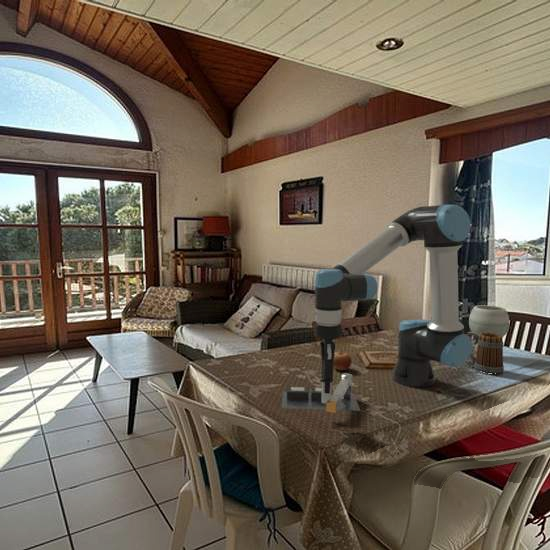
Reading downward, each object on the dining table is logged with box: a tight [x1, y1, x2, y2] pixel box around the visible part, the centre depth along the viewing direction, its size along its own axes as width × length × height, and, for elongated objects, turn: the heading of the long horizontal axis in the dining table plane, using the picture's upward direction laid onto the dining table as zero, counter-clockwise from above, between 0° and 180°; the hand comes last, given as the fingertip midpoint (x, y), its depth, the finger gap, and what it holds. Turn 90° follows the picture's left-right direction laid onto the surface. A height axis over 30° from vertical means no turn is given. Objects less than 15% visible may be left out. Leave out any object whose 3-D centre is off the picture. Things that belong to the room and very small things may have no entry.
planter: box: [468, 304, 510, 352], centre depth 179 cm, size 16×16×22 cm
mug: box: [465, 331, 505, 375], centre depth 161 cm, size 16×11×15 cm
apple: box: [333, 349, 352, 371], centre depth 160 cm, size 8×8×8 cm
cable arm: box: [325, 372, 353, 414], centre depth 120 cm, size 24×4×3 cm, turn 159°
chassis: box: [281, 386, 361, 412], centre depth 127 cm, size 24×13×5 cm, turn 87°
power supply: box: [310, 386, 334, 400], centre depth 130 cm, size 7×5×2 cm
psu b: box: [286, 385, 309, 400], centre depth 130 cm, size 7×5×2 cm
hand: (326, 402), depth 116 cm, fingers closed
